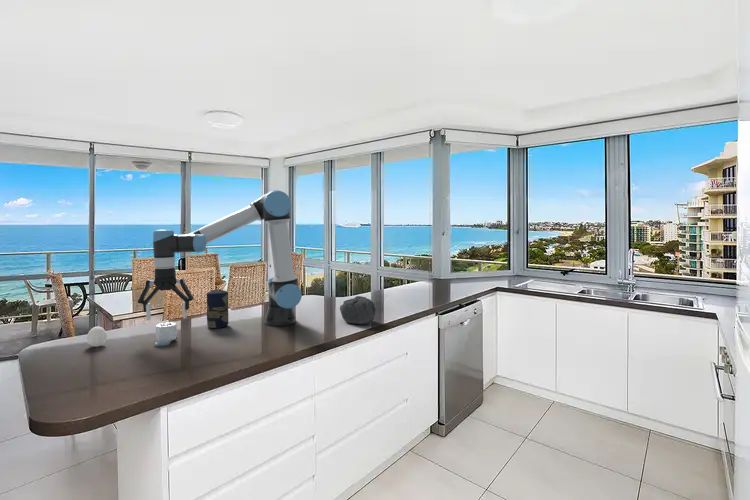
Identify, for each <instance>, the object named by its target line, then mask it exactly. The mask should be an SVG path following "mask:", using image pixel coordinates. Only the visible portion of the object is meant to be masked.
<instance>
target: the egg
mask: <svg viewBox="0 0 750 500" xmlns="http://www.w3.org/2000/svg"><path fill="white" fill-rule="evenodd" d="M107 339H108V334H107V332H106V329H104V327H101V326H94V327H92V328H91V329H90V330H89V331H88V333H87V335H86V342H87V344H89V345H90V346H92V347H94V348H95V347H96V348H98V347H101V346H102V345H104V344H105V343H106V341H107Z"/></svg>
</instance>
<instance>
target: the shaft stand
mask: <svg viewBox="0 0 750 500" xmlns="http://www.w3.org/2000/svg"><path fill="white" fill-rule="evenodd" d="M169 325H170V324H162V326H169ZM173 341H174V340H170V341H162V342H160V341H156V342H155V343H154V347H165V346H166V347H167V346H170V345H171V344H172V343H173Z"/></svg>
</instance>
